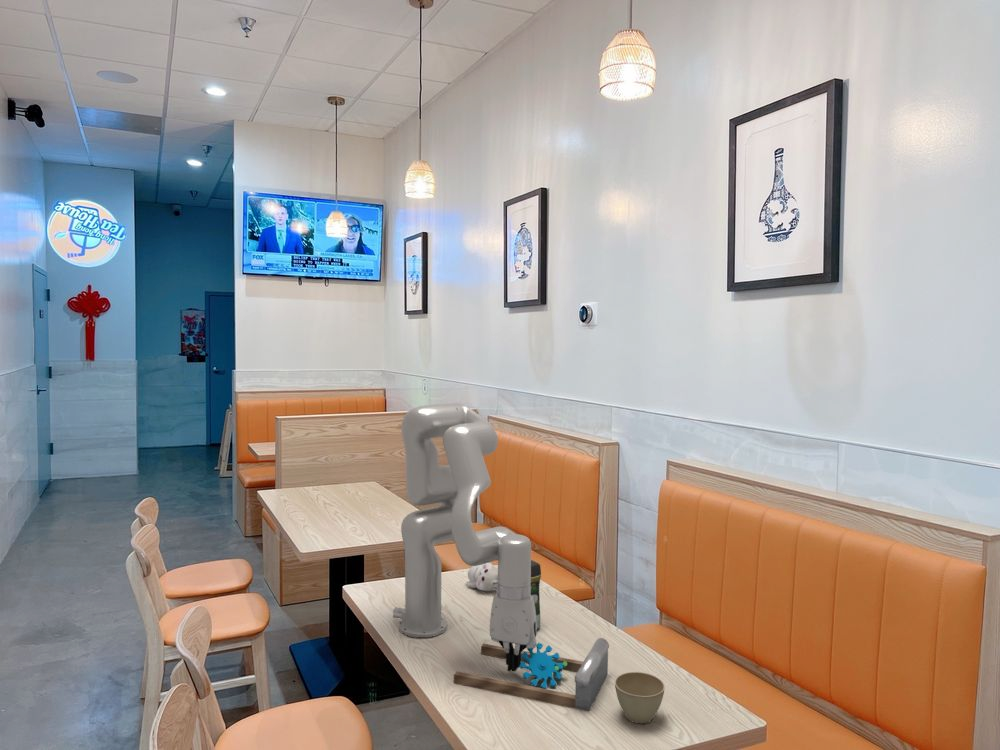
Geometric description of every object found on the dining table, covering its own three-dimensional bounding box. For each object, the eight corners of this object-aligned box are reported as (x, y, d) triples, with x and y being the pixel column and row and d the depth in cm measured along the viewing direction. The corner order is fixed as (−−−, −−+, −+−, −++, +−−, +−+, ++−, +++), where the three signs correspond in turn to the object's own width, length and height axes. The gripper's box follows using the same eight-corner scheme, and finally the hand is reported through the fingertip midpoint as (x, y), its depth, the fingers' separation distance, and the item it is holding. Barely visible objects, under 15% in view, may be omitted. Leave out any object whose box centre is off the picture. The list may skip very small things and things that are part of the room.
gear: (523, 686, 152) (519, 640, 159) (515, 695, 156) (512, 650, 163) (571, 688, 155) (565, 642, 161) (562, 697, 159) (557, 652, 166)
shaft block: (574, 709, 146) (574, 671, 146) (594, 671, 163) (595, 637, 163) (589, 712, 145) (589, 674, 145) (608, 673, 162) (609, 639, 161)
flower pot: (609, 705, 148) (609, 672, 148) (655, 703, 149) (656, 670, 148) (621, 732, 138) (621, 696, 138) (670, 730, 139) (671, 694, 138)
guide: (453, 683, 157) (453, 674, 157) (483, 651, 173) (483, 643, 173) (575, 708, 147) (575, 698, 147) (594, 672, 163) (594, 663, 162)
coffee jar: (500, 624, 189) (500, 556, 188) (523, 617, 194) (524, 551, 193) (521, 636, 181) (521, 566, 180) (545, 629, 186) (546, 560, 185)
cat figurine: (468, 552, 221) (496, 559, 209) (486, 562, 225) (515, 569, 213) (456, 582, 218) (484, 590, 206) (475, 591, 222) (504, 599, 210)
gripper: (477, 591, 159) (476, 670, 160) (540, 600, 153) (539, 682, 155) (490, 580, 166) (489, 656, 167) (550, 589, 160) (549, 667, 162)
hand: (513, 668), depth 161 cm, fingers closed
